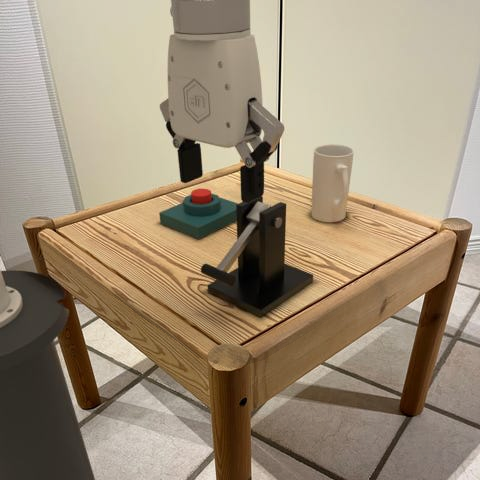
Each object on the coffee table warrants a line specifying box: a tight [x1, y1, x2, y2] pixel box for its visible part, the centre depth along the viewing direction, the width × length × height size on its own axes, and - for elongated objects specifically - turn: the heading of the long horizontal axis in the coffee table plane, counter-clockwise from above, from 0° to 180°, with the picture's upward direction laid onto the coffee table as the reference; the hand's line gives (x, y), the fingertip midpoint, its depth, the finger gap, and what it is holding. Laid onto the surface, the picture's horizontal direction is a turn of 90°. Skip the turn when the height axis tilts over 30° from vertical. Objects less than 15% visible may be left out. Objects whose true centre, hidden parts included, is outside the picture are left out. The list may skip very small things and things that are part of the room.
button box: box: [158, 192, 239, 240], centre depth 93 cm, size 12×10×4 cm
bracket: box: [207, 195, 314, 318], centre depth 71 cm, size 12×10×13 cm
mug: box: [310, 143, 355, 223], centre depth 90 cm, size 10×7×12 cm, turn 12°
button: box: [190, 188, 212, 204], centre depth 91 cm, size 4×4×2 cm
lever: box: [200, 201, 272, 286], centre depth 67 cm, size 12×5×2 cm, turn 139°
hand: (221, 188), depth 60 cm, fingers open, 9 cm apart
